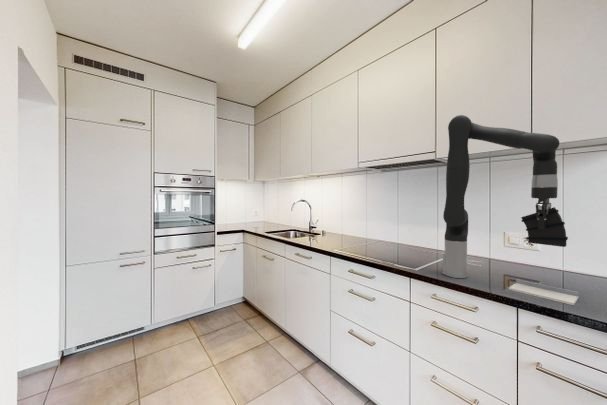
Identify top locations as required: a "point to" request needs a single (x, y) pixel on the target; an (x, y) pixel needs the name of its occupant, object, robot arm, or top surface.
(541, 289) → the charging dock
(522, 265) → the top surface
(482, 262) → the pliers
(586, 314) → the top surface
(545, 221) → the robot arm
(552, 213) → the magazine
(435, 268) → the top surface
